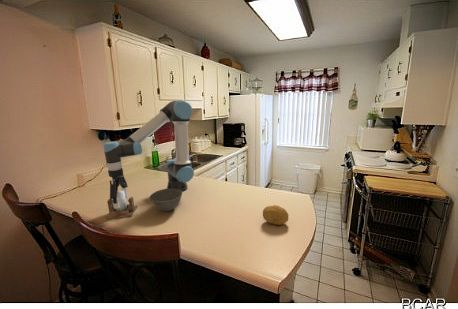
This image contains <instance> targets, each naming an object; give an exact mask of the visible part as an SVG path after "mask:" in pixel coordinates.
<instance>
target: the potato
mask: <svg viewBox="0 0 458 309" xmlns="http://www.w3.org/2000/svg"><path fill="white" fill-rule="evenodd" d="M262 218H263V219H264V221H266V222H268V223H269V224H272V225H277V226H282V225H285V224H286V223H288V221H289V213H288V211H287V210H286V209H285V208H284V207H281V206H280V205H277V204H275V205H268V206H266V207H265V208H263V210H262Z"/></svg>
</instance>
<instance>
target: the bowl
mask: <svg viewBox="0 0 458 309" xmlns="http://www.w3.org/2000/svg"><path fill="white" fill-rule="evenodd" d="M182 195H183V192H182V191H181V190H179V189H174V188H169V189H167V188H163V189H159V190H157V191H154V192H153V193H151V194H150V196H149V199H150V201H151V202H152V204H153V205H154V206H155V208H157V209H159V210H160V211H162V212H171V211H173V210H174V209H176V208H177V206H179V204H180V201H181V199H182Z"/></svg>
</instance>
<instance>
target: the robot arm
mask: <svg viewBox="0 0 458 309" xmlns="http://www.w3.org/2000/svg"><path fill="white" fill-rule="evenodd" d="M158 112H159V113H157V114H156V115H155V116H154V117H152V118H150V119H149V121H147V122H146V123H145V124H143V125H142V126H141V127H140V128H138V129H137V130H136V131H135V132H133V133H132V134H131V135H128V137H127V138H126V139H122V140H121V141H120V142H118V141H108V142H105V143H104V144H103V145H102V146H103V151H104V152H103V153H104V157H105V163H106V167H107V173H108V177H109V178H112V179H111V180H109V199H112V200H113V206H114V209H116V208H120V206H119V201H118V197H117V192H118V191H119V187H121V190H120V191H124V192H125V198H126V199H129V198H128V191H127V188H128V183H127V181H126V178H125V176H124V169H123V163H122V159H123V158H126V157H132V156H133V157H134V156H139V155H141V154H143V146H142V142H144V141H145V140H147V138H148V139H149V137H150V136H151V135H153V134H154V133H155V132H157V130H159V129H161V127H162V126H163V125H165V124H167V123H170V122H172V124H173V125H174V144H175V145H174V147H175V148H174V149H175V158H174V159H169V160H167V161H166V169H167V170H166V172H167V179H168V180H167V185H166V189H169V188H174V189H179V190H181V191H182V193H183V192H185V191H186V190H188V183H189V182H190V181H191V180H192V179H193V178H194V175H195V170H194V169H193V167H192V161H191V160H190V159H189V157H190V156H189V154H190V153H189V152H190V151H189V123H190V122H191V117H192V115H193V108H192V105H191V103H189V101H187V100H182V99H181V100H180V99H179V100H172V101H170V102H168V103H167V104H165V106H163V107H162V108H161V109H160V110H159V111H158Z"/></svg>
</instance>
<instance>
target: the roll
mask: <svg viewBox="0 0 458 309" xmlns="http://www.w3.org/2000/svg"><path fill="white" fill-rule="evenodd" d="M117 197H118V201H119V206H120V208H116V209H117V211H126V210H127V198H125V192H124V191H122V190H118V192H117Z"/></svg>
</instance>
